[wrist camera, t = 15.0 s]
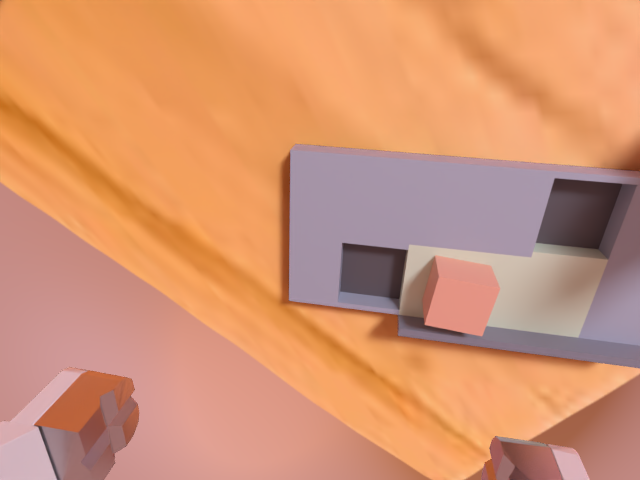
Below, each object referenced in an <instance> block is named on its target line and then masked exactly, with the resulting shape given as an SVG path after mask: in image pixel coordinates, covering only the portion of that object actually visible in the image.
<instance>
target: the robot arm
mask: <svg viewBox="0 0 640 480" xmlns="http://www.w3.org/2000/svg"><path fill="white" fill-rule="evenodd" d="M134 390H135V389H134V385H133V381H132V379H130V378H127V377H121V376H116V375H111V374H105V373H100V372H95V371H89V370H83V369H77V368H72V367H69V368H67V369H64V370H62V371H61V372H60V373H59V374H58V375H57V376H56V377H55V378H54V379H53V380H52V381H51V382H50V383H49V384H48V385H47V386H46V387H45V388H44V389H43V390H42V391H41V392H40V393H39V394H37V396H35V398H33V400H31V402H29V403H28V404H27V405H26V406H25V407H24V408H23V409H22V410H21V411H20V412H19V413H18V414H17V415H16V416H15V417H14V418H13V419H12V420H11V421H2V422H0V480H104V479H105V477H106V476H107V474H108V473H109V472H110V470H111V468H112V467H113V465H114V464H115V456H114V453H116V452H117V451H119V450H121V449H122V448H124V447H126V446H127V444H128V443H129V441H130V440H131V438H132V437H133V435H134V432H135V430H136V427H137V424H138V420H139V408H138V404H137V403H136V402H135V401H134V399H133V398H132V397H131V394H132V393H133V391H134ZM490 453H491V458H492V459H490V460H488V461H487V462H485V464H484V468H483V472H482V480H590V479H589V477H588V475H587V472H586V470H585V468H584V466H583V464H582V461H581V459H580V457H579V454H578V453H577V452H576V451H575V450H574V449H573V448H569V447H563V446H556V445H550V444H544V443H539V442H532V441H525V440H518V439H512V438H505V437H498V436H495V437H494V438H493V440H492V442H491V445H490Z"/></svg>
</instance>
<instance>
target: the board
mask: <svg viewBox="0 0 640 480" xmlns="http://www.w3.org/2000/svg"><path fill="white" fill-rule="evenodd" d="M435 255H437V256H442V257H448V258H453V259H458V260H464V261H469V262H474V263H480V264H485V265H490V266H491V267H492V269H493V272H494V274H495V277H496V279H497V281H498V284H499V286H500V291H499V294H498V296H497V299H496V302H495V304H494V307H493V309H492V312H491V315H490V317H489V320H488V323H487V325H486V328H485V330H484V333H483V336H477V335H472V334H467V333H462V332H457V331H453V330H448V329H443V328H438V327H433V326H428V325H425V324H424V314H423V303H422V299H423V296H424V292H425V289H426V285H427V282H428V278H429V275H430V271H431V268H432V264H433V261H434V257H435ZM289 301H295V302H303V303H310V304H318V305H326V306H334V307H342V308H349V309H357V310H365V311H373V312H381V313H388V314H396V315H398V336H404V337H411V338H419V339H426V340H434V341H441V342H449V343H456V344H463V345H471V346H478V347H486V348H493V349H501V350H508V351H516V352H523V353H530V354H538V355H545V356H553V357H560V358H568V359H575V360H583V361H590V362H597V363H605V364H612V365H620V366H627V367H635V368H640V171H631V170H618V169H605V168H593V167H580V166H567V165H555V164H542V163H529V162H517V161H504V160H492V159H479V158H466V157H454V156H441V155H428V154H416V153H403V152H391V151H378V150H365V149H353V148H340V147H327V146H315V145H302V144H295V145H294V147H293V148H292V149H291V150H290V243H289Z"/></svg>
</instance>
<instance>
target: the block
mask: <svg viewBox="0 0 640 480" xmlns="http://www.w3.org/2000/svg"><path fill="white" fill-rule="evenodd" d="M499 291H500V286H499V284H498V281H497V279H496V277H495V274H494V272H493V269H492V267H491V266H490V265H485V264H480V263H474V262H469V261H464V260H458V259H453V258H448V257H442V256H437V255H435V257H434V261H433V264H432V268H431V271H430V275H429V278H428V282H427V285H426V289H425V292H424V296H423V299H422V303H423V314H424V324H425V325H428V326H433V327H438V328H443V329H448V330H453V331H457V332H462V333H467V334H472V335H477V336H483V333H484V330H485V328H486V325H487V323H488V320H489V317H490V315H491V312H492V309H493V307H494V304H495V302H496V299H497V296H498V294H499Z"/></svg>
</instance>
